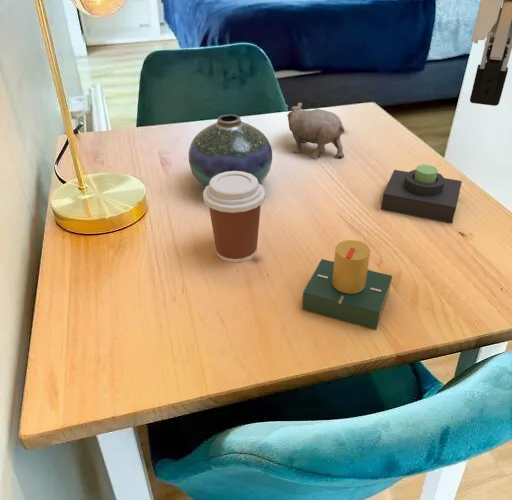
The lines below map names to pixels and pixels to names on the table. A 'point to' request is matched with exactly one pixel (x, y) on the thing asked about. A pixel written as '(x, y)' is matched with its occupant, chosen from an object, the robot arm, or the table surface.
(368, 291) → the panel
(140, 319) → the table surface
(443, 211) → the button base
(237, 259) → the coffee cup
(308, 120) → the rhinoceros figurine
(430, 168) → the green short cylinder
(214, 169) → the vase
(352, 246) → the knob
